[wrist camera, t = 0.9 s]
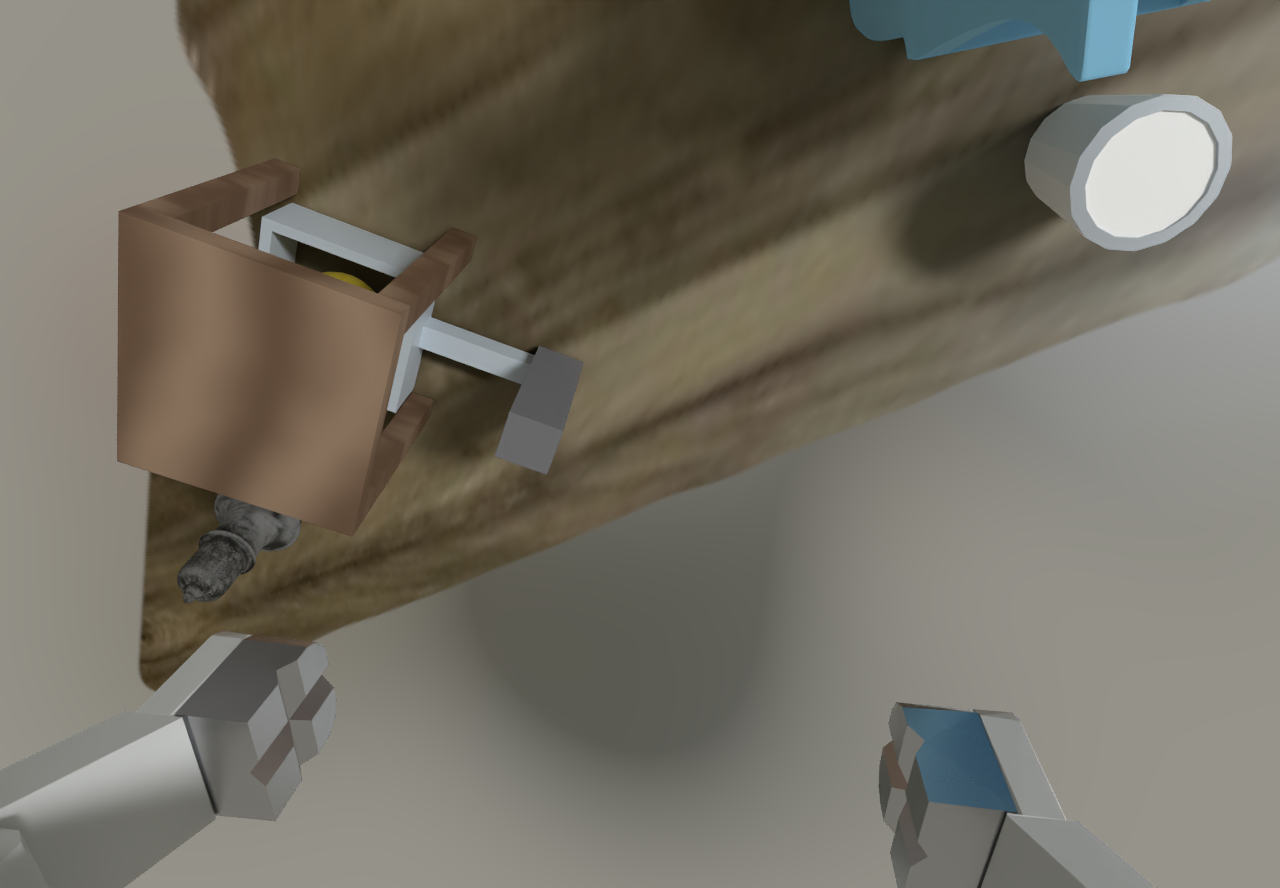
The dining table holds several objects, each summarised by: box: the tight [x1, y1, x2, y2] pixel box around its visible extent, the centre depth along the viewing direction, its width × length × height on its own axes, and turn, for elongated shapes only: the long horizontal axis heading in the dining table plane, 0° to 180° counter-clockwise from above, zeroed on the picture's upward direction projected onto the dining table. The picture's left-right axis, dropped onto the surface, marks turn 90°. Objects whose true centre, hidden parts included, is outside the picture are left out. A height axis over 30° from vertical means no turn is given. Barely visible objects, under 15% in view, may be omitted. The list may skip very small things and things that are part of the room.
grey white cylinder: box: [1024, 94, 1232, 251], centre depth 36 cm, size 7×7×7 cm
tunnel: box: [117, 159, 477, 537], centre depth 40 cm, size 12×13×13 cm
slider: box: [258, 203, 584, 474], centre depth 42 cm, size 19×9×9 cm, turn 69°
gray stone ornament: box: [177, 494, 301, 603], centre depth 48 cm, size 6×6×12 cm
